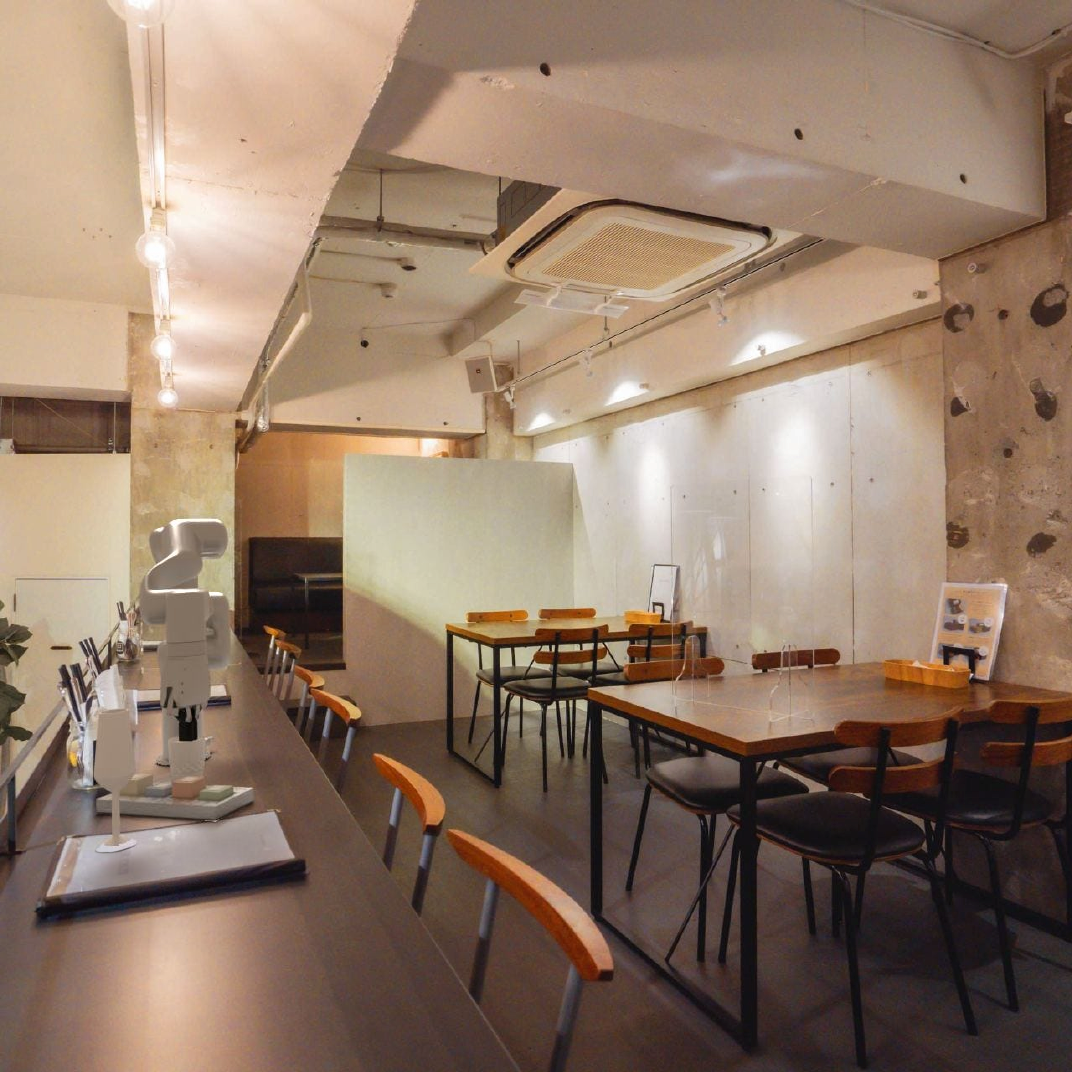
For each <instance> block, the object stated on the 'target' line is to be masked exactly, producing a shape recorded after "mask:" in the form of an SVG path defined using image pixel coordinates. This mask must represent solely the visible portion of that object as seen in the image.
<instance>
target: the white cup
mask: <svg viewBox="0 0 1072 1072" xmlns="http://www.w3.org/2000/svg"><path fill="white" fill-rule="evenodd" d="M205 738H206V735H205V734H203V735H200V734H198V739H197V740H194V741H191V742H185V741H179V736H177V737H173V738H171V739H169V740H168V750H169V763H170V766H169V771H170V783H172V782H174V781H176V780H179V779H181V778H184V777H186V776H198V777H205V776H204V774H205V765H206V764H205V761H206V759H205V748H206V747H205Z"/></svg>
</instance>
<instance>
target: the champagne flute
mask: <svg viewBox="0 0 1072 1072" xmlns="http://www.w3.org/2000/svg"><path fill="white" fill-rule="evenodd" d="M130 717H131V716H130V709H129V708H112V709H107V710H106V709H105V710H102V711H100V712H98V720H97V733H96V744H95V754H94V755H95V757H94V767H93V779H94V780H95V781H96V783H97V784H98V785H99V786H101V787H102V788H103V789H105V790H106V791H109V792H110V793H112V815H111V823H112V825H111V829H112V830H111V831H112V834H111V836H110V837H109V838H107V839H105V840H104V841H103V842H104V845H105V846H119V844H123V843H126V842H127V841H130V840H131V839H132V838H131V837H129V836H125V835H123V834H121V827H120V826H121V823H120V821H121V820H120V817H121V816H120V814H119V791H120V790H121V789H122V788H124V787H125V786H126V785H127V784H128V782H129V781H130V780H131V779H132V778H133V776H134V774H135V773H136V772H137V768H136V767H137V765H136V758H135V749H134V743H133V742H134V741H133V735H132V726H131V718H130ZM130 838H131V839H130Z"/></svg>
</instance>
